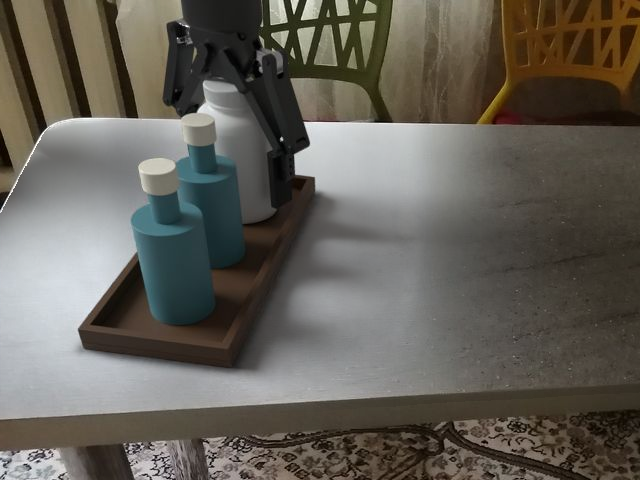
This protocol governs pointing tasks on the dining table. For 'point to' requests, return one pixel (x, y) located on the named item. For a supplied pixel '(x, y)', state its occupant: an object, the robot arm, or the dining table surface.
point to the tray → (229, 289)
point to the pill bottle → (240, 145)
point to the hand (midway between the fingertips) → (241, 186)
